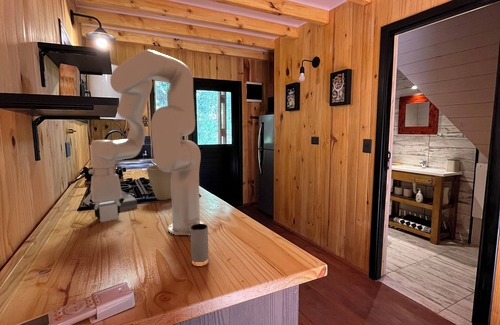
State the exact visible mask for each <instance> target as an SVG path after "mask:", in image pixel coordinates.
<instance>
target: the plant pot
mask: <svg viewBox="0 0 500 325" xmlns="http://www.w3.org/2000/svg"><path fill="white" fill-rule="evenodd" d="M146 172H147V176H148V180H149V184H150V186H151V189H152V192H153V195H154V196H155V198H156V200H158V201H167V200H171V175H172V172H164V171H162V170H160V169H159V168H158V167H157V165H156V164H154V165H148V166H147V167H146Z"/></svg>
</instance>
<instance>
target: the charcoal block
mask: <svg viewBox="0 0 500 325" xmlns="http://www.w3.org/2000/svg"><path fill="white" fill-rule="evenodd" d="M127 195H128V196H127V197H126V199H124V201H123V202H122V203H121V205H120V212H121V211H126V210H127V211H128V210H132V209H137V208H138V200H137V199H136V198H135V197H134V196H133V195H132V194H130V193H128V194H127ZM122 196H123V195H122ZM108 202H109V201H108ZM114 202H115V201H114ZM102 203H103V202H102Z"/></svg>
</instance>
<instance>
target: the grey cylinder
mask: <svg viewBox="0 0 500 325" xmlns="http://www.w3.org/2000/svg"><path fill="white" fill-rule="evenodd" d="M190 231H191V235H190V256H191V257H190V259H192V261H194V262H204V261H206V260H207V259H208V260H209V226H208V225H207V224H205V223H204V224H195V225H192V226H191V227H190Z"/></svg>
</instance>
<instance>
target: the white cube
mask: <svg viewBox="0 0 500 325" xmlns="http://www.w3.org/2000/svg"><path fill="white" fill-rule="evenodd" d="M98 208H99V211H100V219H99V221H100V223H105V222H109V221H116V220H119V216H118V210H117V204H116V203H115V202H114V201H109V202H103V203H100V204H99V207H98Z"/></svg>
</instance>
